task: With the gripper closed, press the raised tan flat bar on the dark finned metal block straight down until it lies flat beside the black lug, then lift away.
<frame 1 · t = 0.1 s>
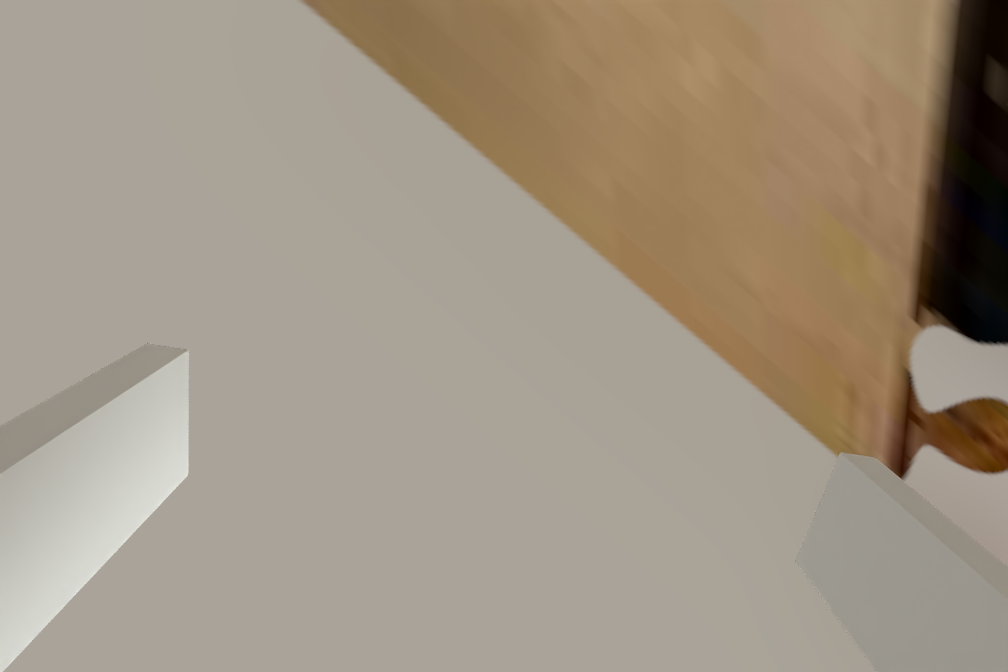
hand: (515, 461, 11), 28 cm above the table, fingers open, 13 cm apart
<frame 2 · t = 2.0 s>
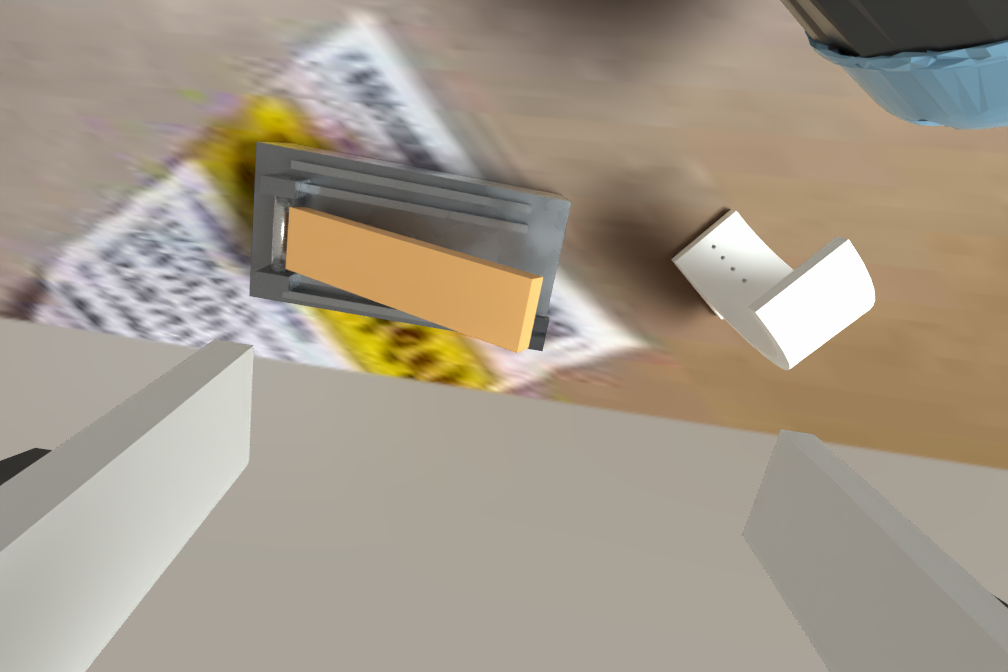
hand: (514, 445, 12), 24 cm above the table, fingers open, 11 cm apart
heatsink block: (419, 236, 34), on the table
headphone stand: (727, 269, 36), on the table
tan flat bar: (400, 272, 25), point 10 cm above the table, hinge at 30.0°
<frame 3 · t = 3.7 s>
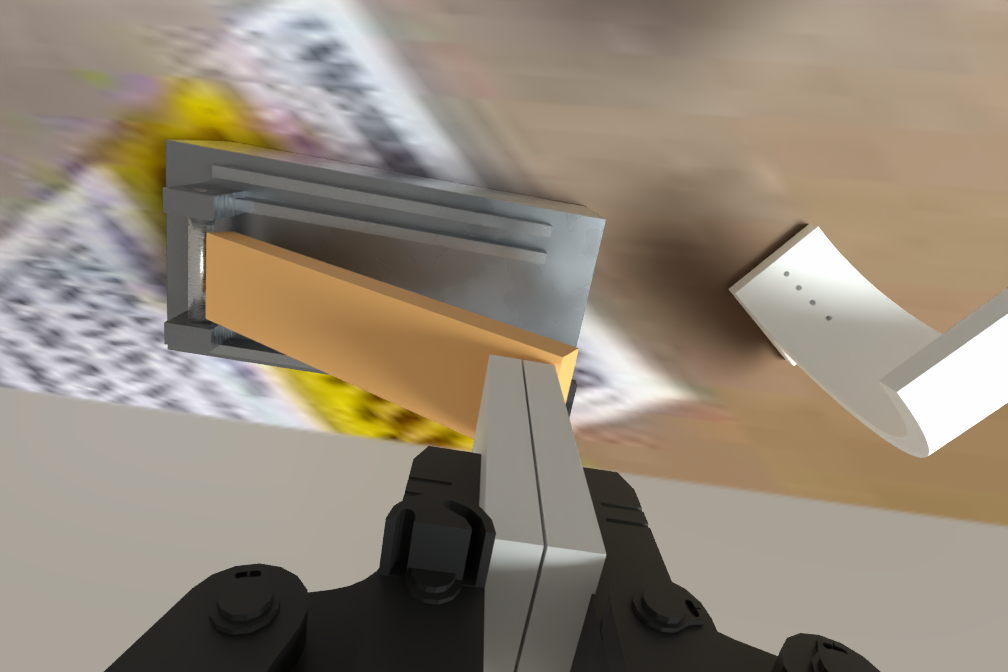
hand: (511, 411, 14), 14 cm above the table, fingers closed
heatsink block: (400, 261, 26), on the table
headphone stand: (800, 301, 27), on the table
tan flat bar: (361, 331, 17), point 10 cm above the table, hinge at 30.0°, touching gripper
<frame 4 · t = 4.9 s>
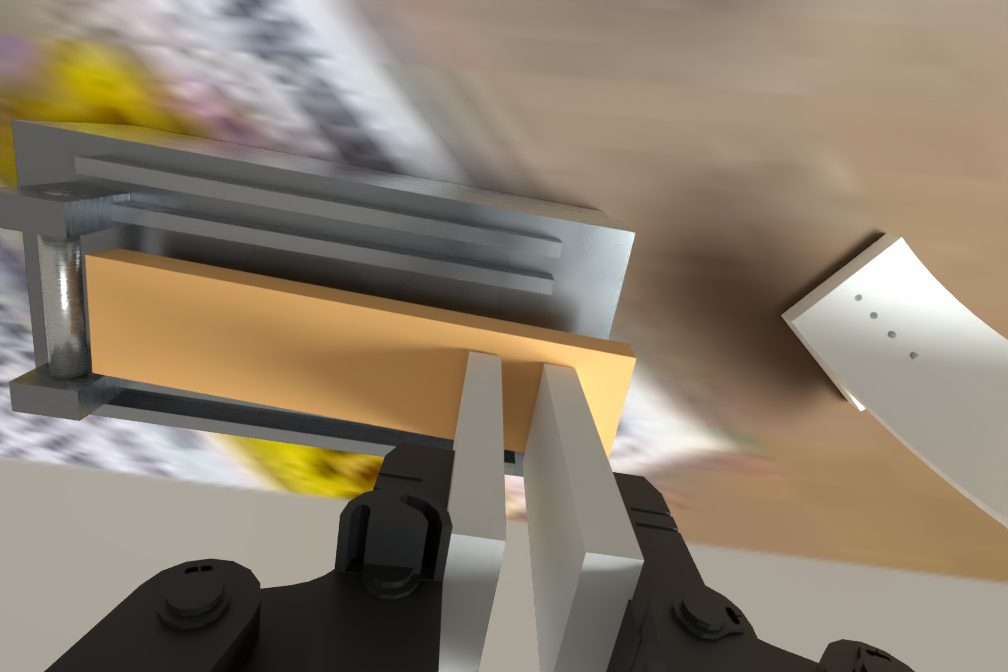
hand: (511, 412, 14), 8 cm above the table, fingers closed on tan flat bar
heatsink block: (363, 281, 21), on the table
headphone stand: (869, 329, 22), on the table
tan flat bar: (361, 358, 14), point 7 cm above the table, hinge at 4.1°, touching gripper
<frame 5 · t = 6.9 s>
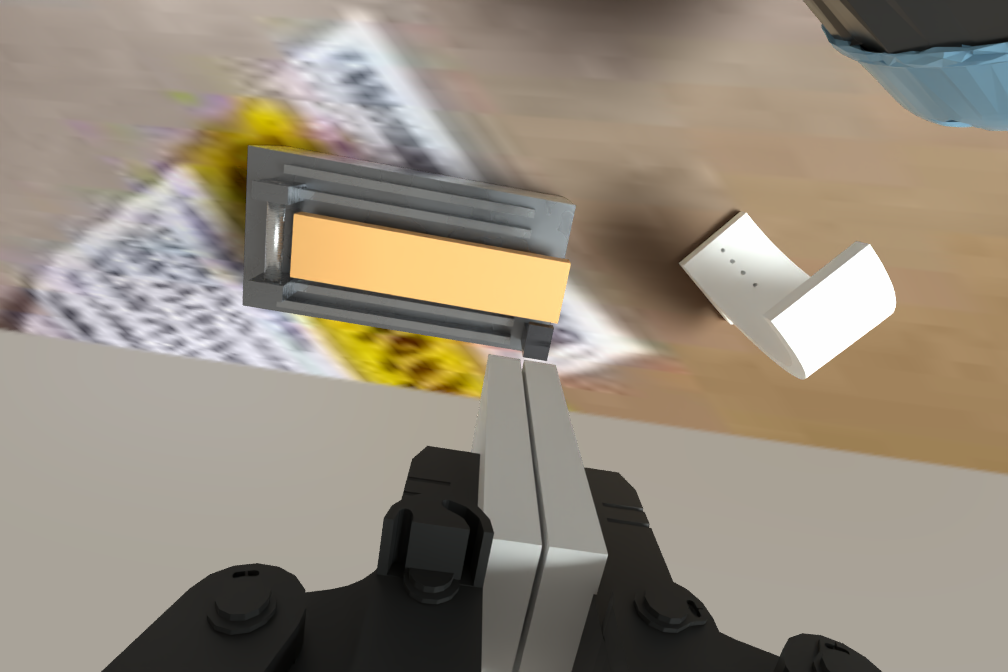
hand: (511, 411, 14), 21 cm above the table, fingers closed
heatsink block: (418, 241, 33), on the table
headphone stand: (736, 273, 34), on the table
tan flat bar: (430, 268, 27), point 7 cm above the table, hinge at 1.3°
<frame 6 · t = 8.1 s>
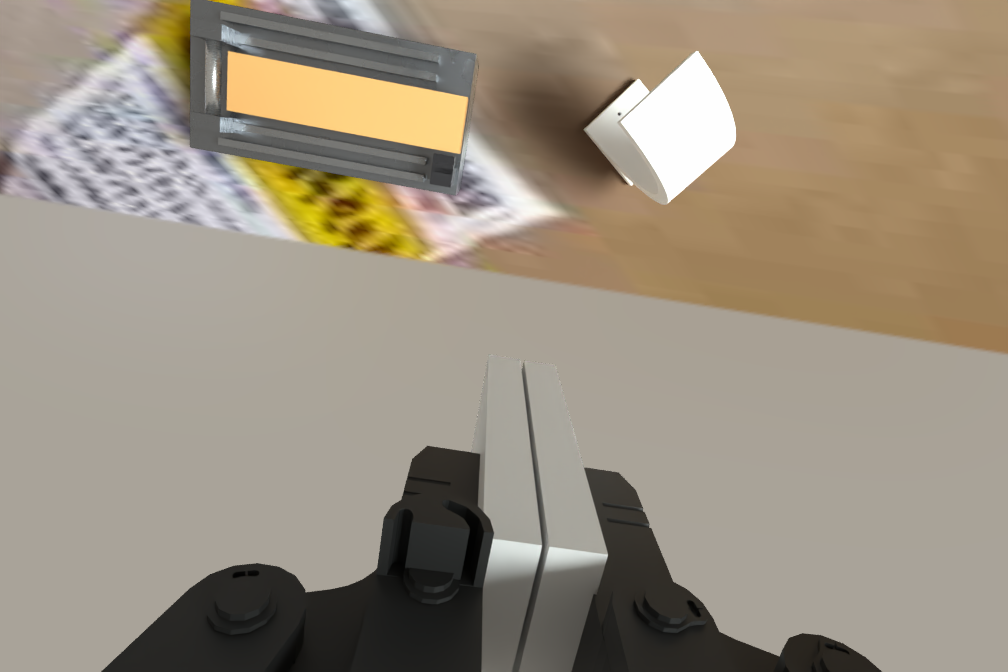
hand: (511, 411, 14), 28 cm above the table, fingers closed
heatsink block: (351, 107, 38), on the table
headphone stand: (636, 139, 39), on the table
tan flat bar: (348, 104, 31), point 7 cm above the table, hinge at 1.3°
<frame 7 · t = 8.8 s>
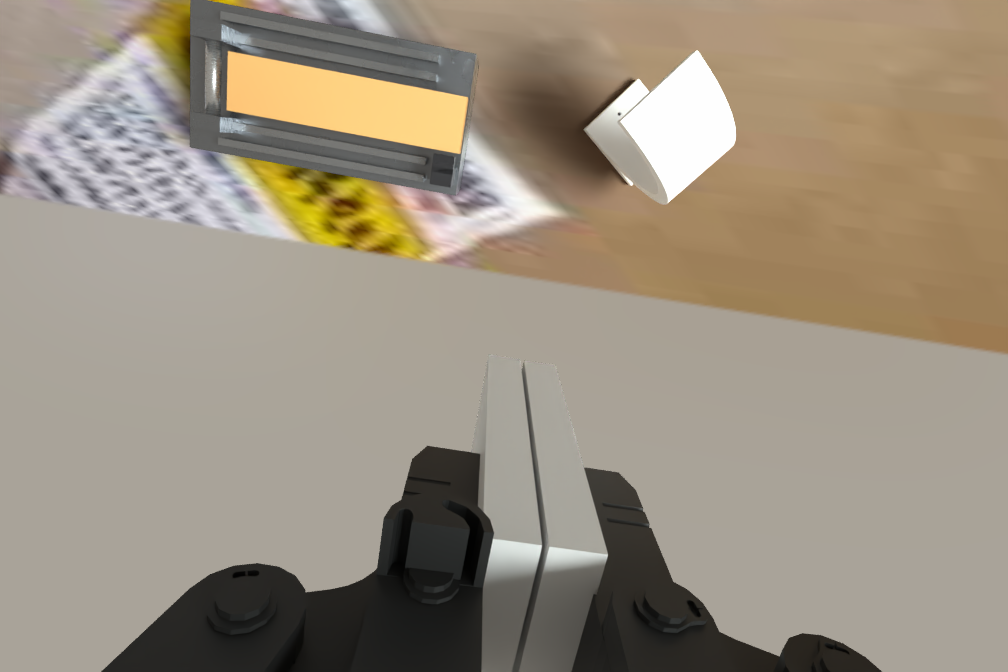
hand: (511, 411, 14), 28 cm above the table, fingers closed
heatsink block: (351, 107, 38), on the table
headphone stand: (636, 140, 39), on the table
tan flat bar: (348, 104, 31), point 7 cm above the table, hinge at 1.3°
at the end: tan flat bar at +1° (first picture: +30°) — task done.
